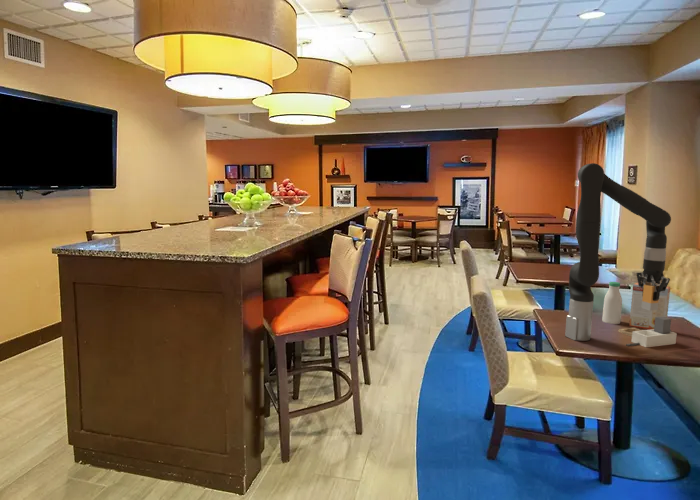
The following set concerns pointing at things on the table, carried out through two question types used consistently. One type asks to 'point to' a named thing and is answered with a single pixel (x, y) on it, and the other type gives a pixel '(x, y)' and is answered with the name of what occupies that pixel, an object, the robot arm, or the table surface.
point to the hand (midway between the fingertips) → (650, 299)
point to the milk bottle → (612, 304)
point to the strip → (655, 334)
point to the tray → (628, 331)
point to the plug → (649, 298)
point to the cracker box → (644, 316)
